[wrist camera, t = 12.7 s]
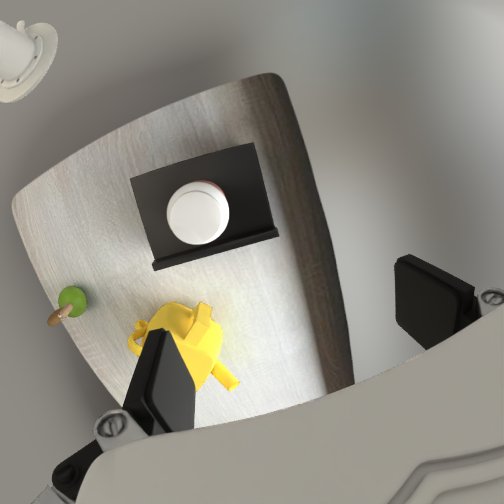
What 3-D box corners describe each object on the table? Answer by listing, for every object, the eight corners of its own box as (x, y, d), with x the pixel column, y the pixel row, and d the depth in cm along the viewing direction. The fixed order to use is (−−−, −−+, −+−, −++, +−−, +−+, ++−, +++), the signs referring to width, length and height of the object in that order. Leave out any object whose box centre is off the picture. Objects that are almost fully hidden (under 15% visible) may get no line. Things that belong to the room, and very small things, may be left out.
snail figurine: (100, 298, 44) (72, 332, 33) (78, 313, 44) (50, 347, 33) (82, 273, 43) (49, 301, 31) (61, 290, 43) (29, 319, 31)
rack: (144, 177, 40) (124, 179, 30) (246, 148, 41) (255, 140, 31) (166, 250, 43) (154, 271, 34) (265, 222, 44) (279, 236, 35)
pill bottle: (173, 184, 33) (154, 189, 23) (222, 176, 34) (224, 176, 23) (182, 233, 35) (167, 258, 24) (229, 225, 36) (235, 246, 25)
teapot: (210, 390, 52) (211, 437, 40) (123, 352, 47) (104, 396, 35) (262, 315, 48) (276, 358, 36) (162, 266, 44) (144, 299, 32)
